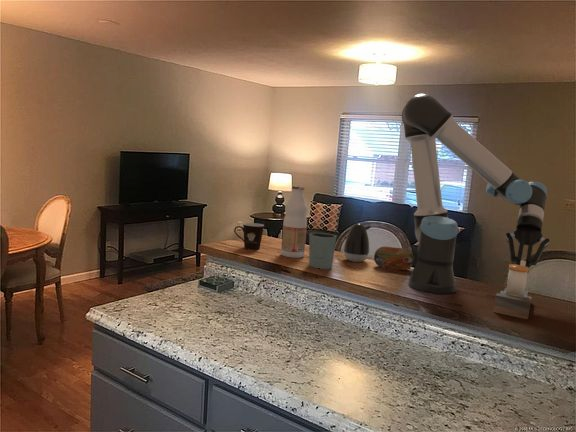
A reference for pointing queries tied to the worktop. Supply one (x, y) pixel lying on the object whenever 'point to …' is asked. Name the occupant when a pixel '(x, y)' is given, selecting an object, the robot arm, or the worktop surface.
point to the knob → (517, 280)
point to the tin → (394, 258)
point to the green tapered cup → (321, 250)
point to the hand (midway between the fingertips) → (520, 280)
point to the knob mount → (512, 304)
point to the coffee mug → (251, 235)
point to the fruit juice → (295, 224)
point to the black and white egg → (357, 243)
